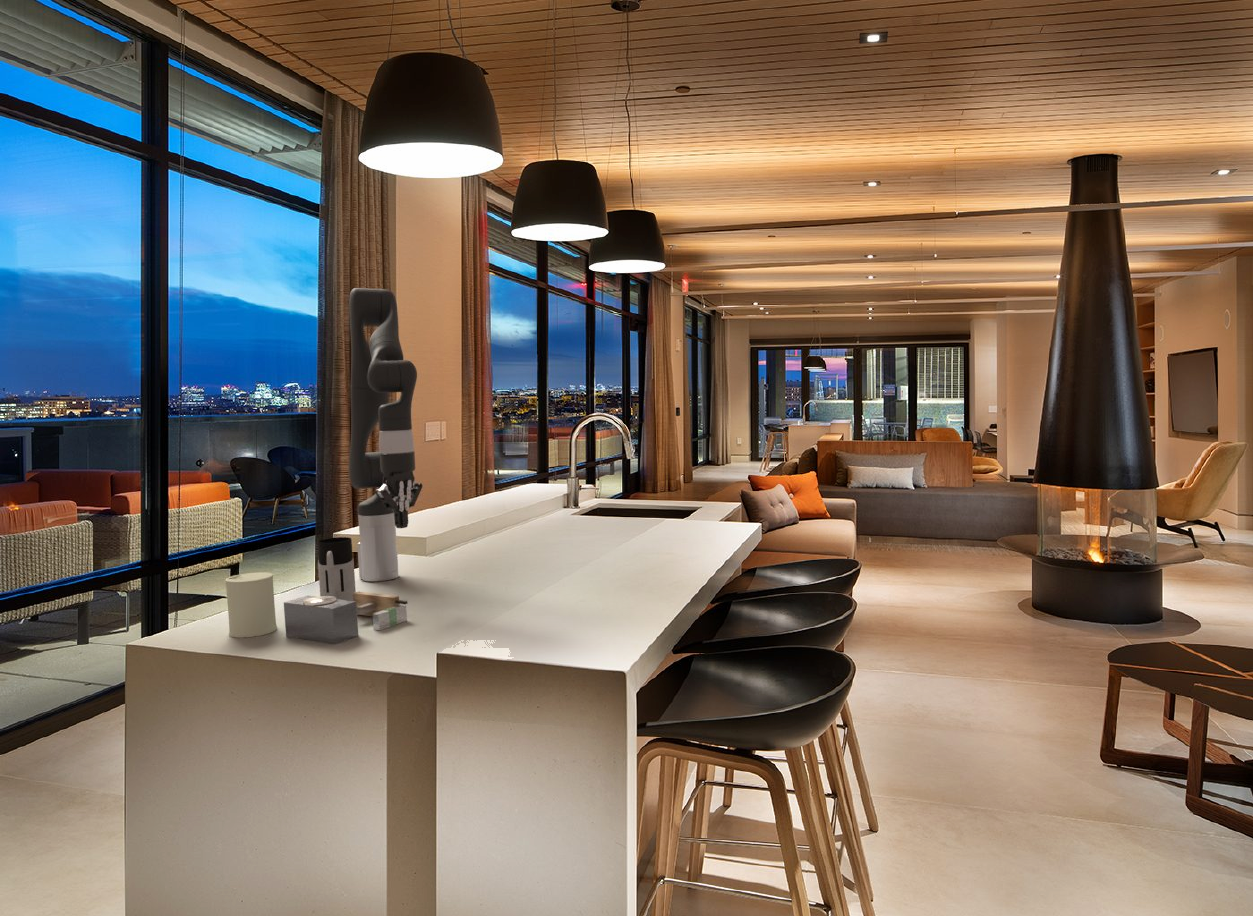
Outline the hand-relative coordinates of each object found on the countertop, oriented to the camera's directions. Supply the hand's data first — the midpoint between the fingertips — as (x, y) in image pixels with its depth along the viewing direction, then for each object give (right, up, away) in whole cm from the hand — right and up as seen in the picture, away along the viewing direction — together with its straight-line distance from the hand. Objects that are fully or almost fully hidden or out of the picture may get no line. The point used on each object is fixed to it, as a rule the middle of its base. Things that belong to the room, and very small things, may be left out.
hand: (401, 527), depth 192 cm
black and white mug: (-16, -19, +5) cm, 25 cm away
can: (-27, -21, -14) cm, 37 cm away
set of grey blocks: (-7, -20, -14) cm, 26 cm away
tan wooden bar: (-3, -19, -9) cm, 21 cm away
